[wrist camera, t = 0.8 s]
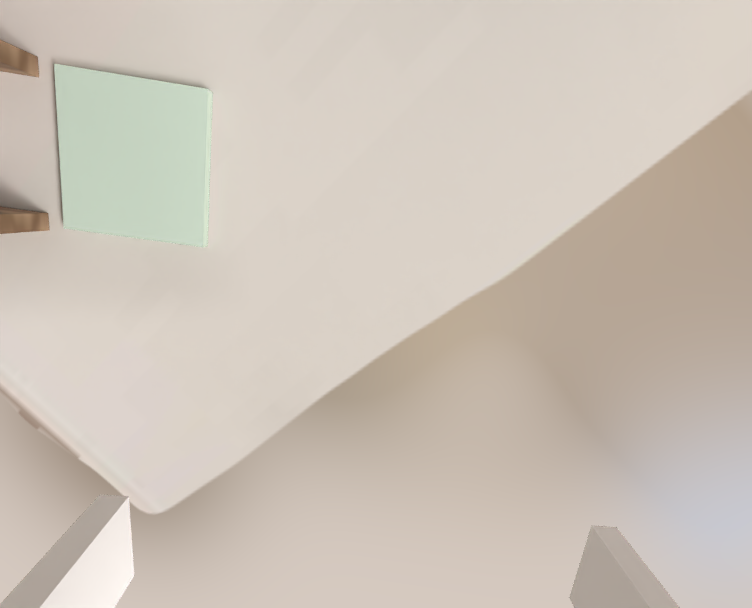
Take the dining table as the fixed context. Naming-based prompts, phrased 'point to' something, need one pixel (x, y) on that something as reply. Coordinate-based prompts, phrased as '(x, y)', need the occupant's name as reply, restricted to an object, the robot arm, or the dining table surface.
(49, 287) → the dining table surface
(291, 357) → the dining table surface
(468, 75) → the dining table surface
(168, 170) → the pad
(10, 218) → the channel
